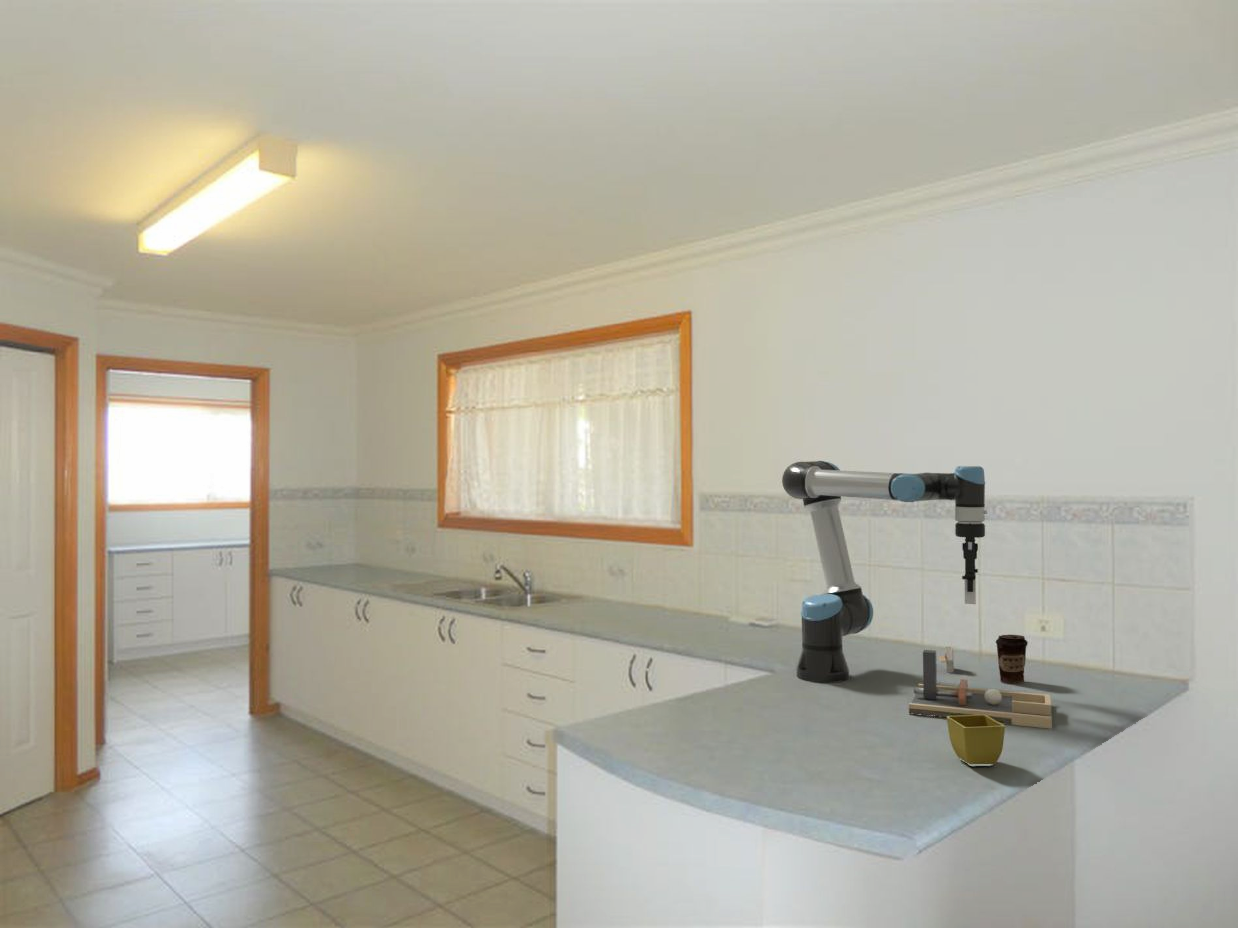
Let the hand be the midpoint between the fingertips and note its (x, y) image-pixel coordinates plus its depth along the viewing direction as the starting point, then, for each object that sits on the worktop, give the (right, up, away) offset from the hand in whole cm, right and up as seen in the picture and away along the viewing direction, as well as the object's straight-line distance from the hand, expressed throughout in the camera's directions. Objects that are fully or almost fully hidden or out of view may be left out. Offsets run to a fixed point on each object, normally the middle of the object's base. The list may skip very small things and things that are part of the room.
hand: (970, 599), depth 240 cm
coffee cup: (+16, -25, +9) cm, 31 cm away
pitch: (-5, -25, -18) cm, 31 cm away
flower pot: (-22, -26, -57) cm, 66 cm away
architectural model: (+3, -26, +24) cm, 35 cm away
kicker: (-13, -23, -14) cm, 30 cm away
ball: (-2, -22, -19) cm, 29 cm away
